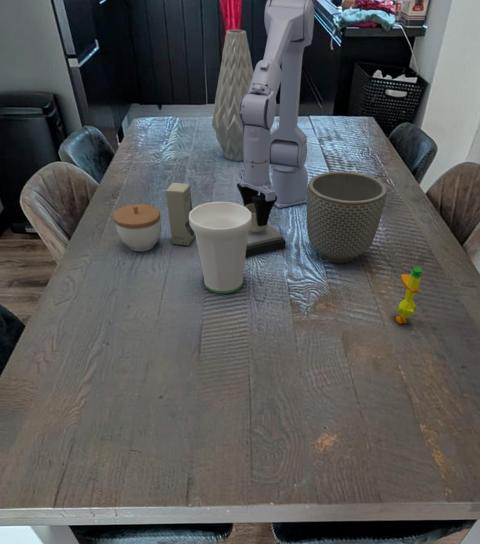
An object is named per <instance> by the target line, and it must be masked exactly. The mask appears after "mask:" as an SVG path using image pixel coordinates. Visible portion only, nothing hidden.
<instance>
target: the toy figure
mask: <svg viewBox="0 0 480 544" xmlns="http://www.w3.org/2000/svg"><path fill="white" fill-rule="evenodd" d="M422 271H423V269H422V268H421V267H419V266H415V267H413V269H412V270H411V271H410V273H409V274H408V273H403V274H401V277H400V280H401V282H402V284H403V286H404V288H406V289H405V296H404V299H402V300H401V301H400V302H399V305H398V307H397V308H396V309H397V312H398V314H399V315H397V316H395V321H396V322H397V323H399V324H400V325H401V324H407V323H408V321H407V319H408V318H409V317H410V316H412V315H413V314H414V312H415V311H416V310H417V308H418V306H417V304H415V301H414V298H415V296H416V294H417V293H418V292H419V291H420V283H421V279H422V277H423V274H422Z"/></svg>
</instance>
